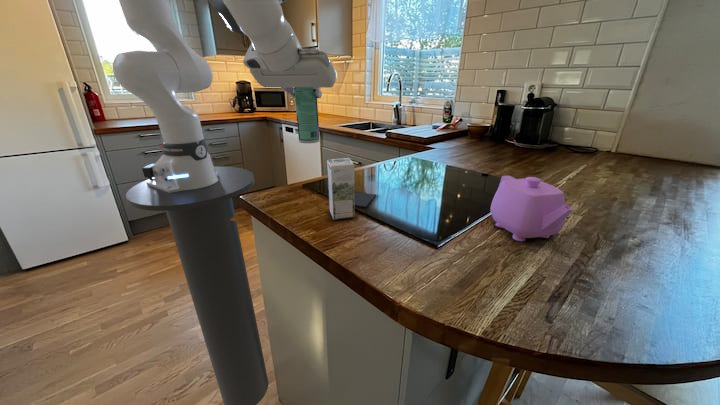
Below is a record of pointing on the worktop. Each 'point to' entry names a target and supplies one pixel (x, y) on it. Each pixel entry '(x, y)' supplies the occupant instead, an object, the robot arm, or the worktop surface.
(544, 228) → the teapot
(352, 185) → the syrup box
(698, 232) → the worktop surface
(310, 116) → the spray can
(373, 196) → the coaster
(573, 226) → the worktop surface
